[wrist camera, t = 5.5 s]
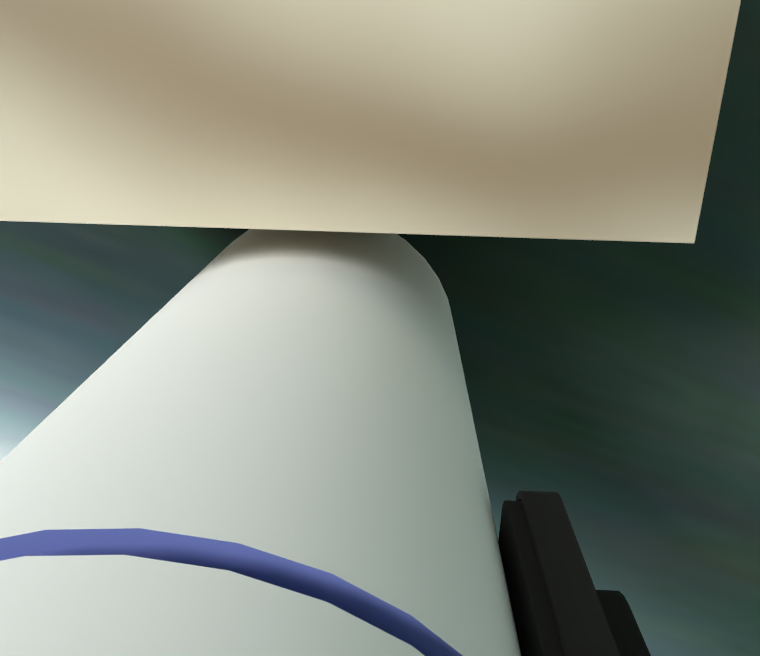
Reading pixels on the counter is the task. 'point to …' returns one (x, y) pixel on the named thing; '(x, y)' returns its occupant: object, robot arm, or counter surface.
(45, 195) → the lid
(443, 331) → the cylindrical container
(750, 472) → the counter surface
